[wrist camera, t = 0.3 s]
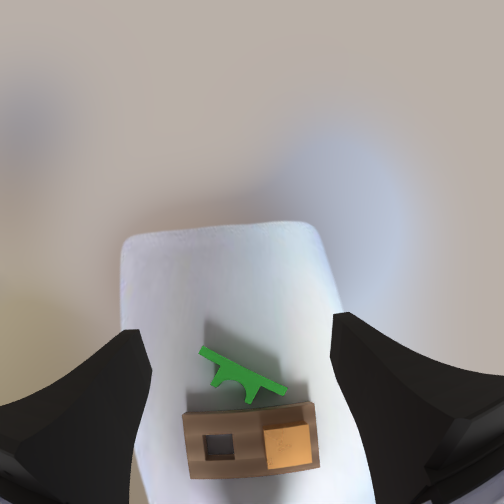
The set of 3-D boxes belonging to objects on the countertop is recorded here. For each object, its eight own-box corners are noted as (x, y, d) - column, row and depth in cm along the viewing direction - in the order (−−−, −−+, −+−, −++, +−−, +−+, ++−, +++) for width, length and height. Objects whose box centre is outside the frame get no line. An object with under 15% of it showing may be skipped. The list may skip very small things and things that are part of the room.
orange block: (303, 451, 32) (312, 462, 26) (264, 456, 31) (268, 469, 26) (299, 417, 34) (308, 424, 28) (261, 422, 33) (263, 430, 28)
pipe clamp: (194, 372, 36) (187, 372, 32) (207, 348, 38) (202, 345, 33) (270, 410, 34) (273, 415, 30) (283, 386, 36) (288, 387, 31)
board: (314, 461, 31) (320, 467, 28) (194, 472, 30) (190, 479, 28) (309, 401, 35) (314, 403, 32) (186, 411, 34) (182, 414, 31)
